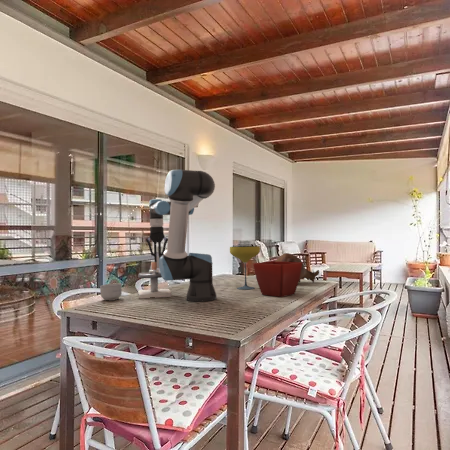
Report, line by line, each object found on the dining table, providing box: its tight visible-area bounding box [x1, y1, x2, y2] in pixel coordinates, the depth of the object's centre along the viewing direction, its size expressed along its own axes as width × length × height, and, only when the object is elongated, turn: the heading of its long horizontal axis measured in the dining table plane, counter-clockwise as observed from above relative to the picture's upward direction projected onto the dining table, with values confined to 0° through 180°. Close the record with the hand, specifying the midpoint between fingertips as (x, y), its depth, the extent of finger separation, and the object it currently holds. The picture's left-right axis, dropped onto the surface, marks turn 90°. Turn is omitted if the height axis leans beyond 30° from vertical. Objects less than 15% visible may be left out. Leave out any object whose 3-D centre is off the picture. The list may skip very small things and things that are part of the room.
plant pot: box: [253, 260, 303, 298], centre depth 201 cm, size 19×19×17 cm
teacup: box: [99, 282, 123, 301], centre depth 200 cm, size 14×11×8 cm
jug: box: [275, 252, 320, 283], centre depth 246 cm, size 20×20×30 cm
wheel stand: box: [138, 278, 172, 299], centre depth 211 cm, size 17×17×10 cm
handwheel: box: [137, 261, 162, 279], centre depth 211 cm, size 17×17×8 cm
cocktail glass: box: [229, 245, 261, 291], centre depth 228 cm, size 18×18×25 cm
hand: (157, 267), depth 218 cm, fingers closed
